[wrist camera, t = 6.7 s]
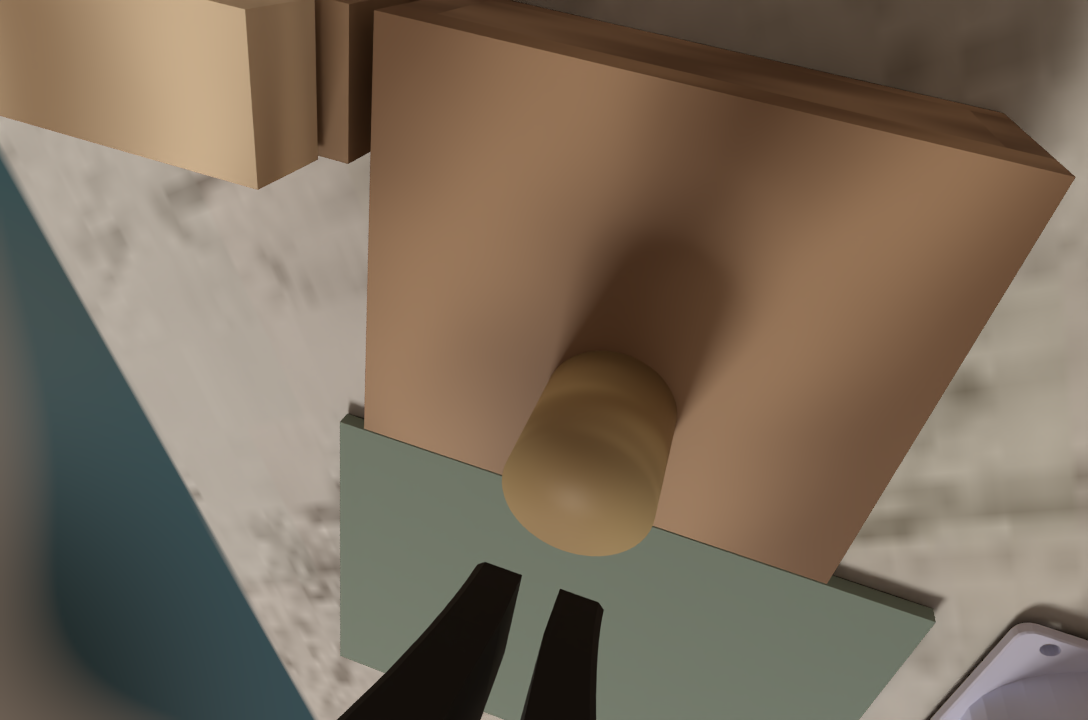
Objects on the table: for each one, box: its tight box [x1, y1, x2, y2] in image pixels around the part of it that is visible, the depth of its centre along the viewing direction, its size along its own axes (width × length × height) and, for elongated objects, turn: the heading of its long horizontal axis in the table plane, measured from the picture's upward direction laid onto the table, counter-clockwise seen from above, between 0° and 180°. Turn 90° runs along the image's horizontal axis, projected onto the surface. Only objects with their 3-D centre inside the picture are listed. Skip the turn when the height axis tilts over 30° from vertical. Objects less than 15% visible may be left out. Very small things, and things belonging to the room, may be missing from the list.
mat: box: [340, 414, 936, 720], centre depth 27 cm, size 20×14×1 cm
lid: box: [364, 5, 1075, 584], centre depth 14 cm, size 12×10×4 cm
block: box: [0, 0, 318, 190], centre depth 13 cm, size 8×3×2 cm, turn 80°
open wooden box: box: [315, 0, 1055, 164], centre depth 17 cm, size 18×10×4 cm, turn 80°
